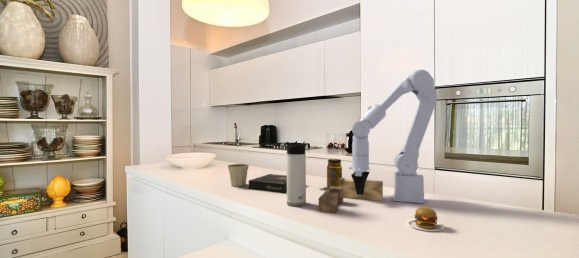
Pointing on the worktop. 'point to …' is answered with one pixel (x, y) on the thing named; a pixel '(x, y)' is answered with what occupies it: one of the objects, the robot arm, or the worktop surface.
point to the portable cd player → (269, 183)
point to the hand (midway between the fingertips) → (360, 193)
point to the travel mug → (296, 175)
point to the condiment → (333, 173)
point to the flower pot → (238, 174)
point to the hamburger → (425, 219)
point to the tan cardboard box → (331, 199)
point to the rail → (371, 189)
